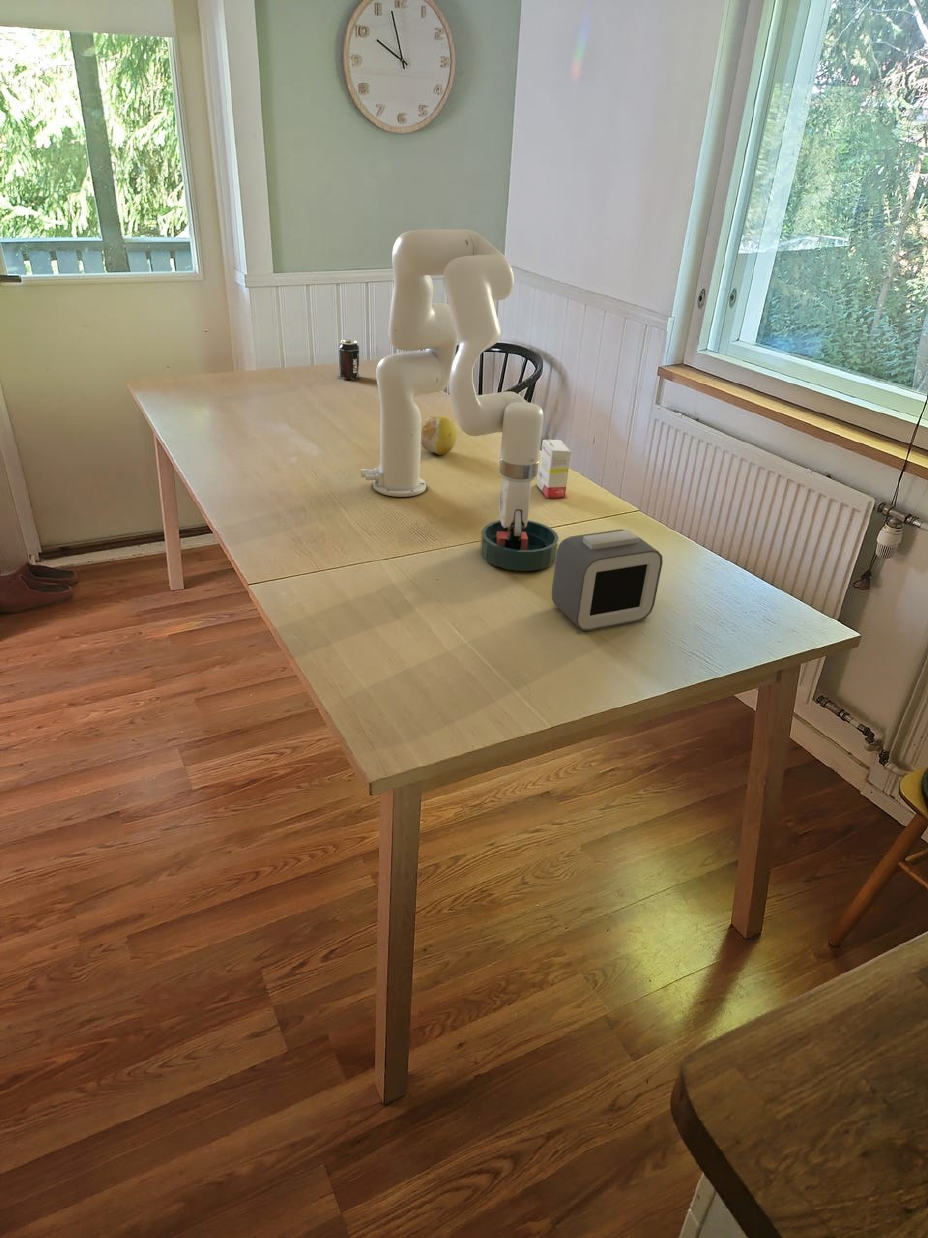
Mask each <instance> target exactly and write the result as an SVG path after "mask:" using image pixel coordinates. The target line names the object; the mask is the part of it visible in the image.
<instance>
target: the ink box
mask: <svg viewBox="0 0 928 1238" xmlns="http://www.w3.org/2000/svg"><path fill="white" fill-rule="evenodd" d="M541 443H542V444H541V450H540V458H539V465H538V473H537V481H536V486H537V487H538V489H539V490H540V491H541V492H542V493H543V494H544V496H545V497H546V498H547V499H551V498H553V499H554V498H555V499H556V498H566V491H567V485H568V477H569V470H570V469H569V468H570V463H571V455H572V451H571V450H570V449H569V447H567V445H566V444H565V442H563V441H562V440H561V439H543V440H542V441H541Z"/></svg>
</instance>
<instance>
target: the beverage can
mask: <svg viewBox="0 0 928 1238" xmlns="http://www.w3.org/2000/svg"><path fill="white" fill-rule="evenodd" d="M339 341H340V342H339V344H338V346H337V348H338V349H337V351H338V353H337V354H338V377H339V378H341V379H342V380H345V381H353V380H357V379H358V378H359V377H360V346H359V344H358V341H357V340H355V339H341V340H339Z"/></svg>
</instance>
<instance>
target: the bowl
mask: <svg viewBox="0 0 928 1238" xmlns="http://www.w3.org/2000/svg"><path fill="white" fill-rule="evenodd" d="M503 530H506V529H504V527H503V526H502V525H501V521H500V519H499V520H495V521H492V522H489V523H488V524H486V525H485V526H484V527H483V528H482V530H481V533H480V547H479V551H480V556H481V557H483V559H484V560H485V561H486V562H488V563H490V564H491V565H494V566H496V567H498V568H502V569H505V570H509V571H517V572H531V571H538V570H539V571H540V570H543V569H545V568H548V567H550V566H552V564H555V561H556V553H557V549H558V546H559V540H560V538H559V534H558V533H557V532H556V531H555V530H553V528H552V527H549V526H547V525H546V524H544V523H540V522H537V521H534V520H529V519H528V522H527V526H526V527H525V528H524V529H523V527H522V532H526V534H527V537H528V544H527V550H515V549H509V548H506V547H502V546H499V545H497V544H496V537H497V531H503Z"/></svg>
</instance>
